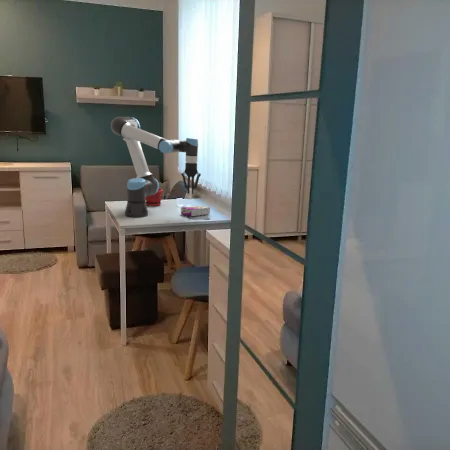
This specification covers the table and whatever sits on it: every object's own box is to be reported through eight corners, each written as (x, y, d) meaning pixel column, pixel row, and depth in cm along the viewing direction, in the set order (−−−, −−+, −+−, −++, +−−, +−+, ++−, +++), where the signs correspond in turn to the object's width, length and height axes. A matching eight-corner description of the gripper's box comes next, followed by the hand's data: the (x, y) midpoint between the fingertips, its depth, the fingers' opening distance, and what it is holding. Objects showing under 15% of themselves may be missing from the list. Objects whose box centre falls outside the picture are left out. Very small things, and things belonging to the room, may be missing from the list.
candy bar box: (180, 206, 291) (199, 205, 303) (180, 214, 292) (199, 212, 304) (191, 209, 284) (210, 207, 295) (191, 216, 284) (210, 214, 296)
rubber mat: (190, 219, 280) (190, 218, 280) (187, 215, 292) (187, 214, 292) (210, 219, 283) (210, 218, 283) (206, 215, 295) (206, 214, 295)
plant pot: (150, 207, 310) (150, 190, 308) (141, 204, 320) (141, 188, 317) (166, 205, 319) (166, 189, 316) (156, 202, 328) (156, 186, 326)
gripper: (181, 162, 274) (180, 199, 279) (202, 163, 277) (200, 200, 282) (180, 161, 281) (179, 197, 286) (200, 162, 284) (199, 197, 289)
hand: (190, 198), depth 284 cm, fingers closed
